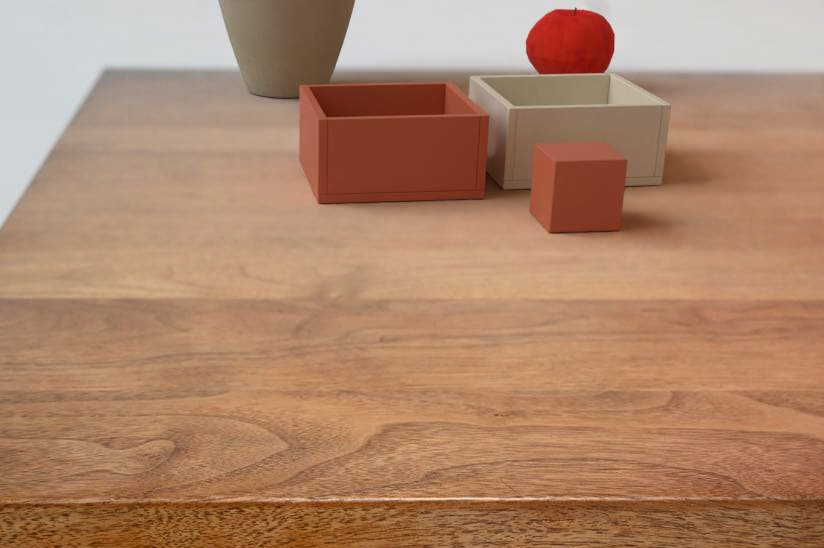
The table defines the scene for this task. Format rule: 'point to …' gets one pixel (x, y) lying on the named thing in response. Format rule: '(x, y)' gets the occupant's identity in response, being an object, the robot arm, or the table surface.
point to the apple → (571, 43)
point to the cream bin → (570, 122)
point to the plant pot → (286, 42)
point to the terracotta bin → (392, 142)
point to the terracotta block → (577, 186)
